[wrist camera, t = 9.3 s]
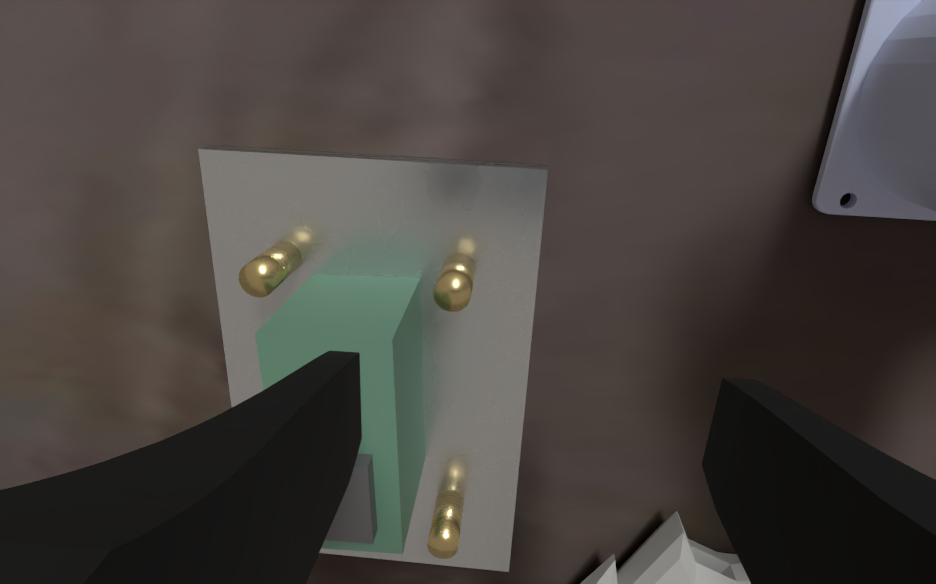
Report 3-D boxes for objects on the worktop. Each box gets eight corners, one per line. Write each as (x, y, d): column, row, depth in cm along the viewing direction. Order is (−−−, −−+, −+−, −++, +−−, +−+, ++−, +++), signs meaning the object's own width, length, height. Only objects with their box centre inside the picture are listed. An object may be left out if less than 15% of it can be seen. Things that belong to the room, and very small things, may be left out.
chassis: (546, 164, 20) (552, 184, 17) (509, 554, 26) (508, 622, 23) (212, 145, 20) (155, 159, 17) (258, 529, 27) (223, 592, 24)
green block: (420, 278, 21) (387, 348, 15) (425, 458, 24) (399, 568, 18) (313, 274, 21) (245, 342, 16) (331, 453, 24) (279, 559, 19)
